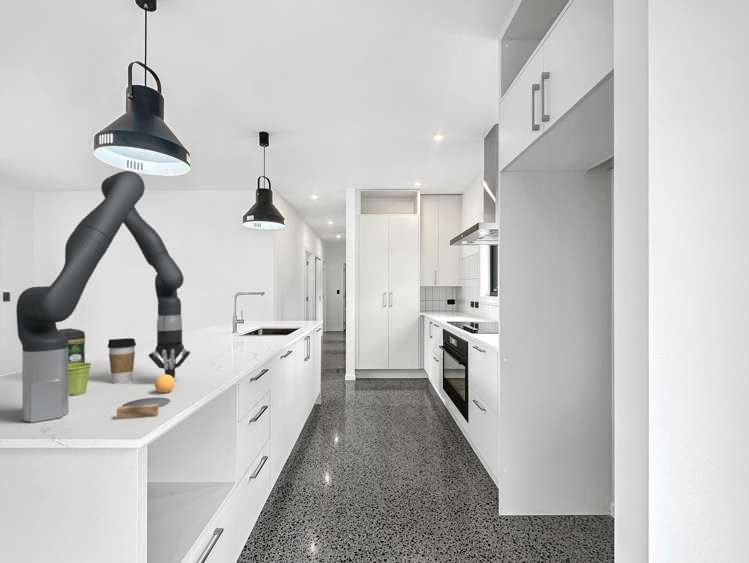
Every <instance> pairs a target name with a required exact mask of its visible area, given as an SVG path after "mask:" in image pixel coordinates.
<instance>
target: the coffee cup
mask: <svg viewBox="0 0 749 563" xmlns="http://www.w3.org/2000/svg"><path fill="white" fill-rule="evenodd" d="M136 346H137V344H136V340H135V338H131V337H130V338H128V337H126V338H115V339H114V338H113V339H110V338H109V339H108V344H107V348H108V349H109V350H108V352H109V353H108V356H109V357H108V358H109V365H110V374H111V383H112V384H113V383H122V384H126V383H125V382H128V383H130V382H129V381H131V382H132V381H133V375H134V374H133V372H134V365H135V355H136V354H135V353H136V352H135V349H136V348H135V347H136Z"/></svg>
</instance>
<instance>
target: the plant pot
mask: <svg viewBox="0 0 749 563" xmlns="http://www.w3.org/2000/svg"><path fill="white" fill-rule="evenodd" d="M92 365H93V363H91V362H85V363H74V364H68V395H69V396H71V395H73V396H77V395H76V394H79V395H82V394H85V393H86V392H87V387H88V380H89V375H90V371H91V366H92ZM84 392H85V393H84ZM81 393H82V394H81Z"/></svg>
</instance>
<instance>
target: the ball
mask: <svg viewBox="0 0 749 563" xmlns="http://www.w3.org/2000/svg"><path fill="white" fill-rule="evenodd" d="M175 382H176V381H175V378H173V377H172V376H170V375H167V374H165V373H164V374H161V375H159V376H158V377H157V378H156V379H155V381H154V387H155V390H156V391H157V392H159V393H161V394H167V393H169V392H171V391H173V389H174V387H175V385H176V383H175Z"/></svg>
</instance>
